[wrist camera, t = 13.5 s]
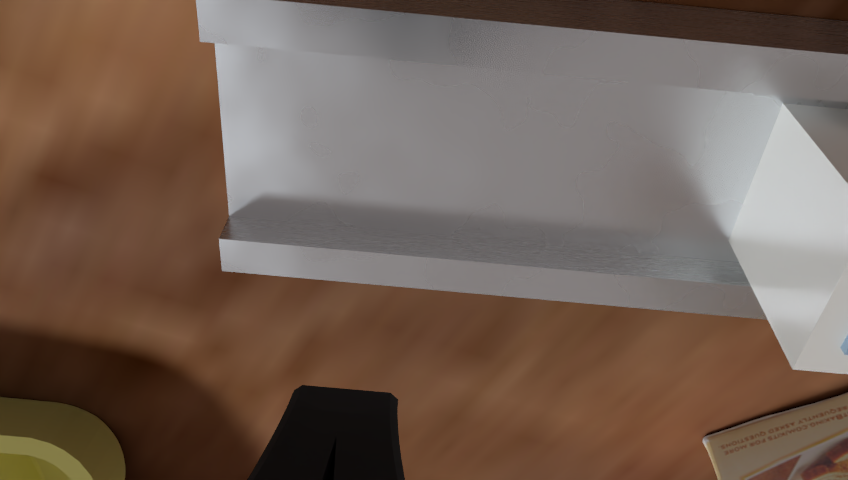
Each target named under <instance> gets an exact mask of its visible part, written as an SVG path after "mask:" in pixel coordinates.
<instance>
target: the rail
mask: <svg viewBox="0 0 848 480" xmlns="http://www.w3.org/2000/svg"><path fill="white" fill-rule="evenodd" d="M196 5H197V15H198V26H199V36H200V42H210V43H215V53H216V65H217V77H218V89H219V101H220V112H221V124H222V136H223V148H224V160H225V172H226V184H227V195H228V207H229V218H228V220H227V222H226V224H225V226H224V229H223V231H222V233H221V235H220V238H219V245H220V255H221V265H222V271H229V272H240V273H251V274H262V275H274V276H285V277H296V278H307V279H319V280H330V281H341V282H352V283H363V284H375V285H386V286H397V287H408V288H419V289H431V290H442V291H453V292H464V293H476V294H487V295H498V296H509V297H520V298H532V299H543V300H554V301H565V302H576V303H588V304H599V305H610V306H621V307H633V308H644V309H655V310H666V311H677V312H689V313H700V314H711V315H722V316H734V317H745V318H756V319H767V317H766V315H765V313H764V311H763V309H762V307H761V305H760V303H759V301H758V299H757V297H756V295H755V293H754V291H753V289H752V287H751V285H750V283H749V281H748V279H747V277H746V275H745V273H744V271H743V269H742V267H741V265H740V263H739V261H738V259H737V257H736V255H735V253H734V251H733V249H732V247H731V245H730V243H729V241H728V240H729V238H730V235H731V233H732V230H733V228H734V225H735V223H736V220H737V218H738V215H739V213H740V210H741V208H742V205H743V203H744V200H745V198H746V195H747V193H748V190H749V187H750V185H751V182H752V180H753V177H754V175H755V172H756V170H757V167H758V165H759V162H760V160H761V157H762V155H763V152H764V150H765V147H766V145H767V142H768V139H769V137H770V134H771V132H772V129H773V127H774V124H775V122H776V119H777V117H778V114H779V112H780V109H781V107H782V104H783V103H786V104H797V105H807V106H818V107H829V108H839V109H848V21H840V20H830V19H819V18H809V17H798V16H788V15H777V14H767V13H757V12H746V11H736V10H725V9H715V8H704V7H694V6H683V5H673V4H662V3H652V2H642V1H631V0H196ZM767 320H768V319H767Z"/></svg>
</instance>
